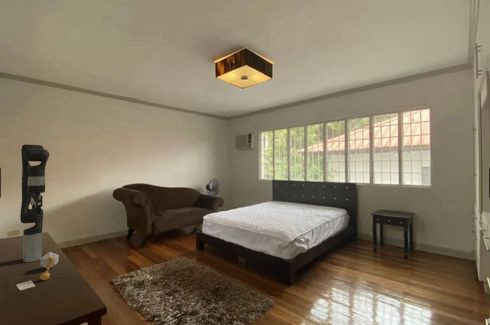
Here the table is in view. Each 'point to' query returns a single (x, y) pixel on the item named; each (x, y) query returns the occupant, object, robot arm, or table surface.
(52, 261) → the figurine
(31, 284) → the grey mat
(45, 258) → the die
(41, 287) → the table surface
